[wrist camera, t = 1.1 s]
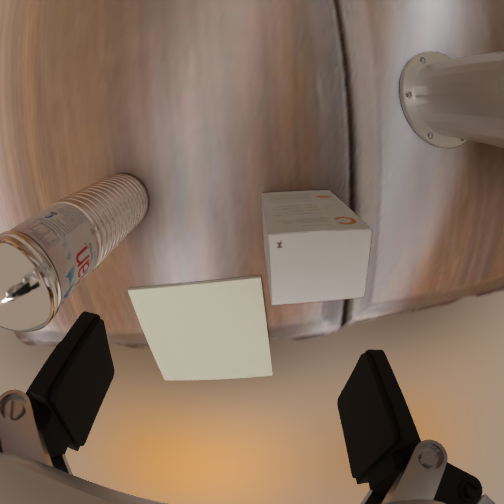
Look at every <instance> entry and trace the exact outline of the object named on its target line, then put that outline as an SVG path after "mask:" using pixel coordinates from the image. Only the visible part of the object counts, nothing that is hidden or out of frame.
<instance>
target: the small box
mask: <svg viewBox="0 0 504 504" xmlns="http://www.w3.org/2000/svg"><path fill="white" fill-rule="evenodd" d="M261 199H262V220H263V238H264V249H265V259H266V266H267V274H268V282H269V290H270V297H271V303H272V305H286V304H300V303H311V302H323V301H333V300H343V299H353V298H363V297H364V292H365V285H366V278H367V271H368V264H369V256H370V248H371V240H372V229H371V228H370V227H369V226H368V225H367V224H366V223H364V222H363V221H362V220H361V219H360V218H359V217H358V216H357V215H356V214H355V213H354V212H353V211H352V210H351V209H350V208H349V207H348V206H346V205H345V204H344V203H343V202H342V201H341V200H340V199H339V198H338V197H337V196H336V195H334V194H333V193H332V192H331V191H330V190H309V191H287V192H270V193H262V194H261Z"/></svg>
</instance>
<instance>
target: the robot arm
mask: <svg viewBox="0 0 504 504" xmlns="http://www.w3.org/2000/svg"><path fill="white" fill-rule="evenodd" d="M399 89H400V99H401V104H402V108H403V111H404V113H405V116H406V118H407V120H408V122H409V123H410V125H411V127H412V128H413V129H414V131H415V132H416V133H417V134H418V135H419V136H420V137H421V138H422V139H423V140H425V141H426V142H428V143H429V144H432V145H434V146H437V147H441V148H455V147H458V146H460V145H462V144H463V143H465V142H466V141H467V140H469V141H474V142H479V143H484V144H488V145H493V146H497V147H501V148H504V51H500V52H492V53H485V54H479V55H473V56H467V57H461V58H456V59H452V58H450V57H448V56H446V55H444V54H441V53H438V52H425V53H421V54H418V55H416V56H415V57H413V58H411V59H410V61H409V62H408V63H407V64H406V66H405V67H404V69H403V71H402V75H401V78H400V87H399ZM406 95H407V97H406ZM113 376H114V366H113V362H112V358H111V354H110V350H109V345H108V340H107V335H106V330H105V325H104V321H103V320H102V319H100V316H99V315H97V314H93V313H89V312H83V313H82V314H81V315H80V316H79V318H78V319H77V321H76V322H75V323H74V325H73V326H72V327H71V329H70V330H69V332H68V333H67V334H66V336H65V337H64V339H63V340H62V341H61V342H60V343H59V344H58V345H57V346H56V348H55V349H54V350H53V352H52V353H51V355H50V356H49V358H48V360H47V361H46V362H45V364H44V365H43V367H42V368H41V370H40V371H39V373H38V374H37V376H36V378H35V379H34V381H33V382H32V384H31V385H30V387H29V389H28V390H27V392H26V394H25V393H24V392H22V391H19V390H9V391H7V392H5V393H3V394H2V395H1V396H0V504H165V503H161V502H157V501H152V500H148V499H144V498H140V497H136V496H133V495H129V494H125V493H122V492H118V491H116V490H113V489H109V488H106V487H103V486H100V485H98V484H95V483H92V482H89V481H86V480H84V479H81V478H78V477H76V476H73V474H72V472H71V469H70V467H69V464H68V462H67V459H66V457H65V452H66V450H67V447H69V448H71V449H74V450H76V451H78V449H79V447H80V446H83V445H84V444H85V442H86V440H87V437H88V435H89V432H90V430H91V427H92V425H93V423H94V420H95V418H96V415H97V413H98V411H99V408H100V406H101V404H102V401H103V399H104V397H105V395H106V392H107V390H108V388H109V386H110V383H111V381H112V379H113ZM338 410H339V414H340V419H341V424H342V428H343V433H344V438H345V443H346V447H347V453H348V458H349V463H350V468H351V473H352V476H353V478H356V480H357V484H361V483H368V482H369V486H370V490H369V492H368V493H367V495H366V496H365V498H364V500H363V501H362V502H361V504H495V503H494V502H493V501H492V500H491V499H490V498H489V497H488V496H487V495H486V494H485V495H483V496H482V486H481V483H480V482H479V480H478V479H477V478H476V477H474V476H472V475H470V474H468V473H466V472H464V471H462V470H461V469H459V468H457V467H455V466H453V465H451V464H449V463H448V462H447V453H446V451H445V449H444V447H443V446H442V445H441V444H439V443H438V442H437V441H433V440H424V441H422V442H421V440H420V438H419V435H418V432H417V430H416V427H415V424H414V422H413V419H412V417H411V414H410V412H409V409H408V406H407V404H406V402H405V399H404V397H403V394H402V392H401V389H400V387H399V385H398V383H397V381H396V378H395V376H394V373H393V371H392V369H391V366H390V364H389V362H388V360H387V357H386V355H385V353H384V352H383V350H367V351H366V352H365V353H364V354H362V355H361V357H360V358H359V360H358V363H357V364H356V366H355V368H354V370H353V372H352V374H351V376H350V378H349V379H348V381H347V383H346V385H345V387H344V389H343V390H342V392H341V394H340V396H339V398H338Z"/></svg>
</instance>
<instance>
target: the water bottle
mask: <svg viewBox="0 0 504 504" xmlns="http://www.w3.org/2000/svg"><path fill="white" fill-rule="evenodd" d="M147 208H148V195H147V192H146V190H145V188H144V186H143V184H142V183H141V182H140V181H139V180H138V179H137V178H135V177H133V176H131V175H128V174H115V175H112V176H109V177H107V178H105V179H102V180H100V181H98V182H96V183H93V184H91V185H89V186H87V187H85V188H83V189H81V190H79V191H77V192H75V193H73V194H71V195H69V196H67V197H65V198H63V199H61V200H59V201H57V202H55V203H53V204H52V205H50V206H49V207H48V208H47V209H45V210H43V211H41V212H40V213H38V214H36V215H34V216H33V217H31V218H29V219H28V220H26V221H24V222H23V223H21V224H19V225H18V226H16V227H14V228H13V229H11V230H10V231H5V232H3V233H1V234H0V327H2V328H5V329H8V330H11V331H16V332H31V331H37V330H40V329H42V328H44V327H45V326H46V325H48V324H49V323H50V321H51V320H52V319H53V318H54V316H55V315H56V314H57V312H58V310H59V307H60V306H61V305H62V304H63V303H64V301H65V300H66V299H67V298H68V297H69V296H70V294H71V293H72V292H73V291H74V290H75V289H76V288H77V287H78V285H79V284H80V283H81V282H82V281H83V280H84V279H85V278H86V277H87V276H88V274H89V273H91V272H92V271H94V270H95V269H96V268H97V267H98V265H99V264H100V263H101V262H102V261H103V260H104V259H105V258H106V257H107V256H108V255H109V254H110V253H111V252H112V251H113V250H114V248H115V247H116V246H117V245H118V244H119V243H120V242H121V241H122V240H123V239H124V238H125V237H126V236H127V235H128V234H129V233H130V232H131V231H132V230H133V229H134V228H135V227H136V226H137V225H138V224H139V223H140V222H141V221H142V219H143V218H144V216H145V214H146V212H147Z"/></svg>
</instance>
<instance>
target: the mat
mask: <svg viewBox="0 0 504 504" xmlns="http://www.w3.org/2000/svg"><path fill="white" fill-rule="evenodd" d="M128 292H129V295H130V298H131V301H132V303H133V306H134V309H135V311H136V314H137V317H138V319H139V322H140V324H141V327H142V329H143V332H144V334H145V337H146V339H147V341H148V344H149V346H150V348H151V351H152V353H153V355H154V358H155V360H156V362H157V364H158V367H159V369H160V371H161V373H162V375H163V377H164V379H165V380H212V379H232V378H248V377H260V376H271V375H273V371H272V363H271V354H270V346H269V338H268V330H267V322H266V314H265V306H264V298H263V290H262V282H261V275H258V276H248V277H239V278H230V279H220V280H210V281H200V282H190V283H180V284H169V285H158V286H147V287H135V288H129V289H128Z"/></svg>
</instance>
